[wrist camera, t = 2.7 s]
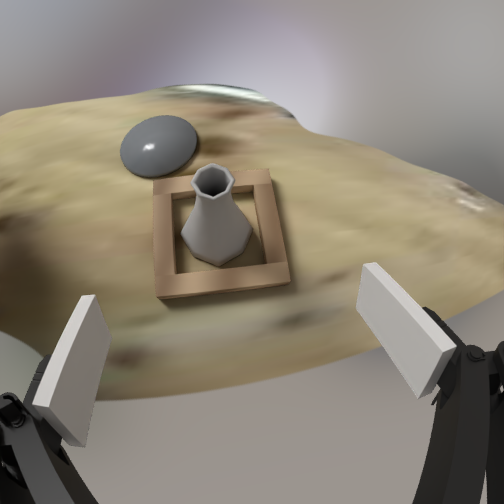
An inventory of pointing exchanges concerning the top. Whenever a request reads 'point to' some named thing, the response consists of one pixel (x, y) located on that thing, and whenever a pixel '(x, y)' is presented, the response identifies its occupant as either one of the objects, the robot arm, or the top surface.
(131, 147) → the coaster
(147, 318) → the top surface
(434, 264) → the top surface
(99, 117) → the top surface
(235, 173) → the holder
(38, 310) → the top surface
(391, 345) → the robot arm
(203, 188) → the flask
